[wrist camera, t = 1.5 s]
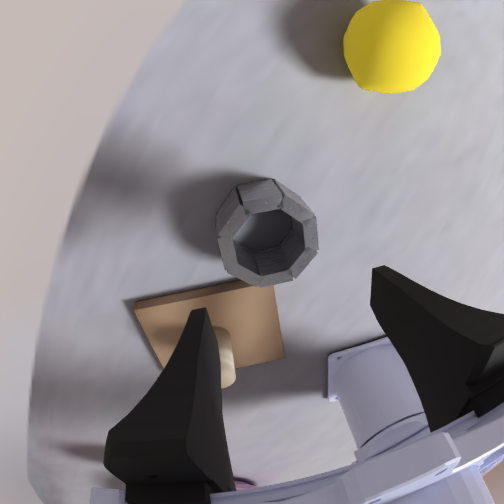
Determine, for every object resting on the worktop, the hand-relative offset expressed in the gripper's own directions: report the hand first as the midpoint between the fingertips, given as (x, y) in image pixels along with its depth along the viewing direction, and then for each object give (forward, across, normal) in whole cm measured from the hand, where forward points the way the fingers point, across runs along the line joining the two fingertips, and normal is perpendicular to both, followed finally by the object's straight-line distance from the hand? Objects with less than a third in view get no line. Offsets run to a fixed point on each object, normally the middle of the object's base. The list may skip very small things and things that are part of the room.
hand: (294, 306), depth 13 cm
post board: (+9, +5, +8) cm, 13 cm away
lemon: (+9, -9, -10) cm, 16 cm away
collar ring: (+9, 0, 0) cm, 9 cm away
